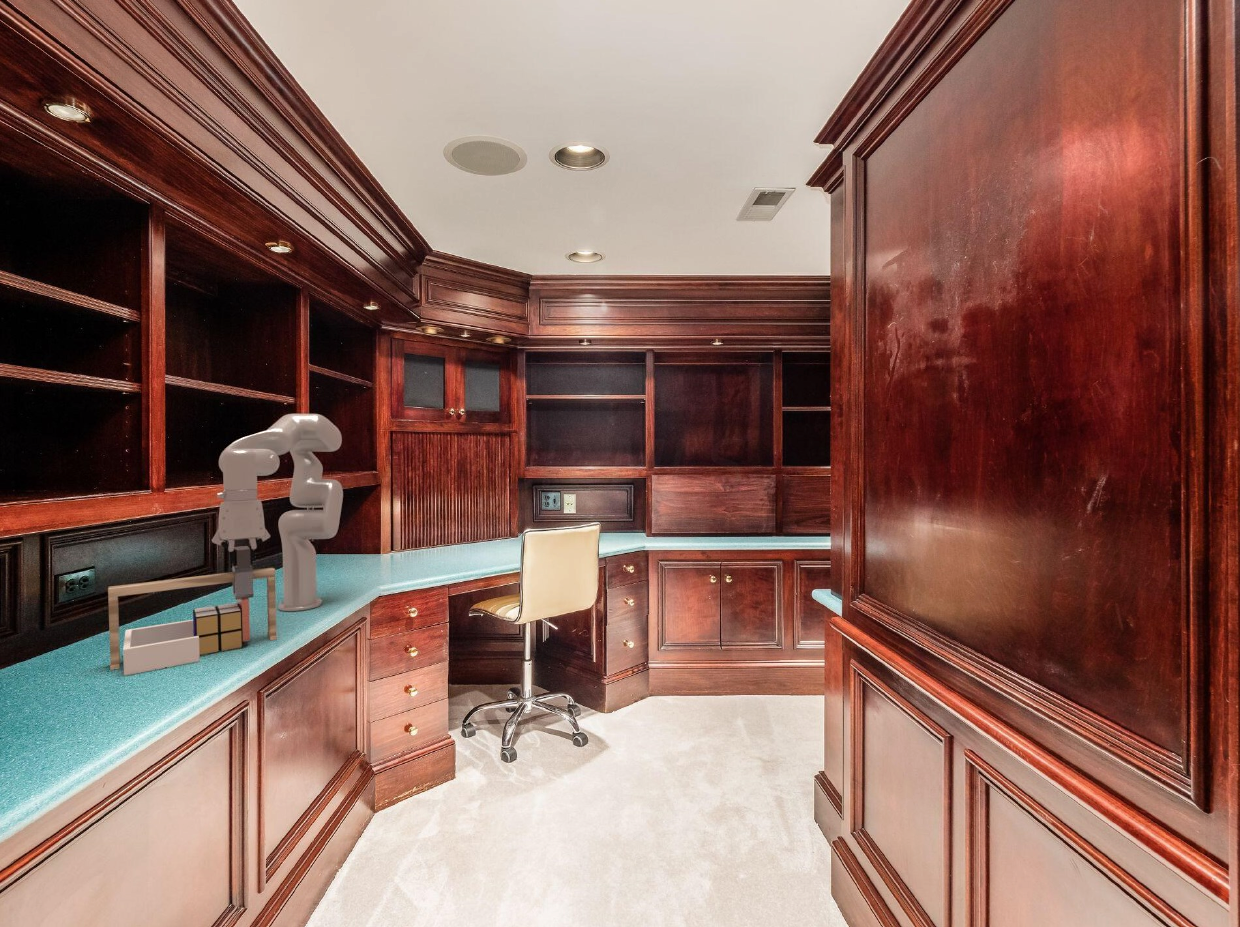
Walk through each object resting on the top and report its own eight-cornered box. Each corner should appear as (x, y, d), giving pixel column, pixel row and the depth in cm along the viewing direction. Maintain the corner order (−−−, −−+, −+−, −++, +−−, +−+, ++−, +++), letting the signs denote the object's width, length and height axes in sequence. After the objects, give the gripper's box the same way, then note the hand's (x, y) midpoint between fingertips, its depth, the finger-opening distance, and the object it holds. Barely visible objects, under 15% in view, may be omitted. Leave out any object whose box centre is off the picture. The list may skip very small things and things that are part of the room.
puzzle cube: (193, 646, 154) (192, 608, 154) (238, 638, 161) (237, 602, 160) (195, 656, 147) (194, 617, 146) (243, 648, 153) (242, 610, 153)
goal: (126, 653, 149) (125, 629, 149) (195, 641, 158) (194, 619, 158) (124, 675, 135) (123, 649, 135) (199, 661, 144) (199, 636, 143)
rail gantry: (111, 662, 143) (109, 585, 142) (273, 633, 164) (272, 566, 163) (110, 670, 138) (107, 590, 137) (277, 639, 159) (275, 570, 159)
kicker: (233, 633, 159) (231, 546, 159) (250, 630, 162) (248, 544, 161) (237, 642, 152) (235, 551, 152) (255, 639, 155) (253, 549, 154)
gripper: (204, 499, 148) (206, 571, 148) (278, 495, 158) (279, 562, 159) (202, 497, 154) (203, 566, 154) (273, 493, 164) (275, 558, 165)
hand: (242, 563), depth 156 cm, fingers closed on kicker, 3 cm apart
